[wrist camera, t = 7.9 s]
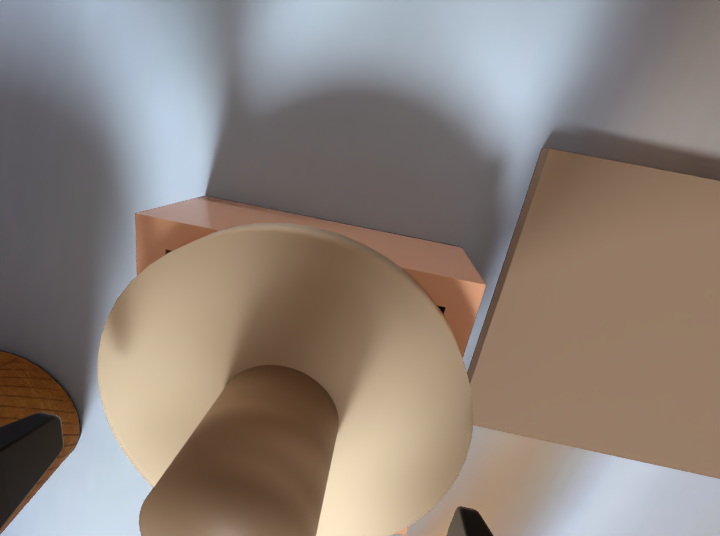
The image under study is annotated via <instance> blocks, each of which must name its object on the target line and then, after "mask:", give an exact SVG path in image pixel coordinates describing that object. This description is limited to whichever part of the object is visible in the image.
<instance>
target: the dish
mask: <svg viewBox="0 0 720 536" xmlns="http://www.w3.org/2000/svg"><path fill="white" fill-rule="evenodd" d="M256 223H291V224H298V225H305V226H312V227H316V228H320V229H324V230H328V231H331V232H335V233H339V234H341V235H344V236H346V237H348V238H351V239H353V240H356V241H358V242H361V243H363V244H365V245H367V246H368V247H370V248H372V249H374V250H375V251H377V252H379V253H381V254H382V255H384V256H386V257H387V258H389V259H390V260H391V261H393V262H394V263H395V264H397V265H398V266H399V267H401V268H402V269H403V270H405V271H406V272H407V273H408V274H409V275H410V276H411V277H413V278H414V279H415V280H416V281H417V282H418V283H419V284H420V285H421V286H422V287H423V288H424V289H425V290H426V292H427V293H428V294H429V295H430V297H431V298H432V299H433V301H434V302H435V303H436V304H437V306H438V307H439V308H440V310H441V311H442V313H443V315H444V317H445V318H446V320H447V322H448V324H449V325H450V327H451V329H452V331H453V334H454V336H455V339H456V341H457V344H458V346H459V349H460V352H461V355H462V358H463V356H464V352H465V349H466V346H467V343H468V340H469V337H470V334H471V331H472V328H473V325H474V321H475V318H476V315H477V312H478V309H479V306H480V303H481V300H482V297H483V293H484V290H485V287H486V284H485V282H484V281H483V279H482V278H481V276H480V274H479V273H478V271H477V270H476V268H475V267H474V265H473V264H472V262H471V261H470V259H469V257H468V256H467V254H466V253H465V251H464V250H463V248H462V247H457V246H452V245H447V244H442V243H437V242H432V241H427V240H422V239H417V238H412V237H407V236H402V235H397V234H392V233H387V232H382V231H377V230H372V229H367V228H362V227H357V226H352V225H347V224H342V223H338V222H333V221H328V220H323V219H318V218H313V217H308V216H303V215H298V214H293V213H288V212H283V211H278V210H273V209H268V208H263V207H258V206H253V205H248V204H243V203H238V202H233V201H228V200H223V199H218V198H213V197H208V196H201V197H197V198H194V199H190V200H186V201H182V202H178V203H174V204H170V205H166V206H162V207H158V208H154V209H150V210H146V211H142V212H138V213H135V224H136V263H137V276H138V275H139V274H140V273H141V272H142V271H143V270H144V269H146V268H147V267H148V266H149V265H150V264H152V263H154V262H155V261H157V260H158V259H160V258H161V257H163V256H164V255H166V254H168V253H169V252H171V251H173V250H176V249H178V248H180V247H182V246H184V245H186V244H189V243H191V242H193V241H195V240H197V239H200V238H202V237H204V236H206V235H209V234H211V233H213V232H217V231H220V230H224V229H228V228H231V227H235V226H241V225H249V224H256ZM408 527H409V526H408ZM408 527H406V528H405V529H403V530H401V531H399V532H397V534H401V535H405V536H406V533H407V530H408Z"/></svg>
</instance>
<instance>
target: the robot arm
mask: <svg viewBox="0 0 720 536" xmlns="http://www.w3.org/2000/svg"><path fill="white" fill-rule="evenodd" d="M63 445H64V440H63V432H62V423H61V419H60V417H59V416H57V415H53V414H49V413H44V412H39V413H35V414H33V415H30V416H27V417H25V418H22V419H20V420H17V421H15V422H12V423H9V424H7V425H4V426H2V427H0V529H1V528H2V526H3V525H4V524H5V523H6V522H7V520H8V519H9V518H10V517H11V516H12V514H13V513H14V512H15V511H16V509H17V508H18V507H19V505H20V504H21V503H22V502H23V500H24V499H25V498H26V497H27V495H28V494H29V493H30V491H31V490H32V489H33V488H34V486H35V485H36V484H37V483H38V481H39V480H40V479H41V477H42V476H43V475H44V474H45V472H46V471H47V470H48V469H49V467H50V466H51V465H52V463H53V462H54V461H55V460H56V458H57V457H58V456H59V454H60V452H61V451H62V448H63ZM447 536H493V534H492V533H491V531H490V529H489V528H488V526H487V525H486V523H485V521H484V520H483V518H482V517H481V515H480V514H479V512H478V511H476V510H474V509H471V508H466V507H462V506H459V507H458V508H457V509H456V511H455V513H454V516H453V519H452V521H451V524H450V527H449V529H448V533H447Z"/></svg>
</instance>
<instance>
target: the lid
mask: <svg viewBox="0 0 720 536" xmlns="http://www.w3.org/2000/svg"><path fill="white" fill-rule="evenodd" d="M98 383H99V390H100V397H101V401H102V404H103V408H104V411H105V415H106V418H107V420H108V422H109V425H110V427H111V429H112V431H113V434H114V436H115V438H116V439H117V441H118V443H119V445H120V446H121V448H122V450H123V451H124V453H125V454H126V456H127V457H128V459H129V460H130V461H131V463H132V464H133V465H134V467H135V468H136V469H137V470H138V472H139V473H140V474H141V475H142V476H143V477H144V478H145V479H146V480H147V481H148V482H149V484H150V485H151V486H152V487H154V488H153V489H152V491H151V492H150V493H149V495H148V496H147V498H146V499H145V501H144V503H143V505H142V507H141V511H140V515H139V526H140V532H141V536H390V535H393V534H395V533H397V532H399V531H401V530H403V529H405V528H406V527H408V526H409V525H411V524H413V523H414V522H416V521H418V520H419V519H420V518H421V517H423V516H424V515H425V514H426V513H427V512H429V511H430V510H431V509H432V508H433V507H434V506H435V505H436V504H437V503H438V502H439V501H440V500H441V499H442V498H443V497H444V496H445V494H446V493H447V492H448V490H449V489H450V487H451V486H452V484H453V483H454V481H455V480H456V478H457V477H458V475H459V473H460V470H461V468H462V466H463V464H464V462H465V460H466V457H467V453H468V449H469V446H470V442H471V438H472V428H473V419H474V417H473V400H472V392H471V388H470V383H469V379H468V374H467V371H466V368H465V364H464V361H463V358H462V355H461V352H460V349H459V346H458V344H457V341H456V339H455V336H454V334H453V331H452V329H451V327H450V325H449V324H448V322H447V320H446V318H445V317H444V315H443V313H442V311H441V310H440V308H439V307H438V306H437V304H436V303H435V302H434V301H433V299H432V298H431V297H430V295H429V294H428V293H427V292H426V290H425V289H424V288H423V287H422V286H421V285H420V284H419V283H418V282H417V281H416V280H415V279H414V278H413V277H411V276H410V275H409V274H408V273H407V272H406V271H405V270H403V269H402V268H401V267H399V266H398V265H397V264H395V263H394V262H393V261H391V260H390V259H389V258H387V257H386V256H384V255H382V254H381V253H379V252H377V251H375V250H374V249H372V248H370V247H368V246H367V245H365V244H363V243H361V242H358V241H356V240H353V239H351V238H348V237H346V236H344V235H341V234H339V233H335V232H331V231H328V230H324V229H320V228H316V227H312V226H305V225H298V224H291V223H256V224H249V225H241V226H235V227H231V228H228V229H224V230H220V231H217V232H213V233H211V234H209V235H206V236H204V237H202V238H200V239H197V240H195V241H193V242H191V243H189V244H186V245H184V246H182V247H180V248H178V249H176V250H173V251H171V252H169V253H168V254H166V255H164V256H163V257H161V258H160V259H158V260H157V261H155V262H154V263H152V264H150V265H149V266H148V267H147V268H146V269H144V270H143V271H142V272H141V273H140V274H139V275H138V276H137V277H136V278H134V279H133V280H132V281H131V282H130V284H129V285H128V286H127V288H126V289H125V290H124V291H123V293H122V294H121V295H120V296H119V298H118V299H117V301H116V303H115V305H114V307H113V308H112V310H111V312H110V314H109V316H108V318H107V321H106V324H105V327H104V330H103V333H102V336H101V340H100V346H99V352H98Z"/></svg>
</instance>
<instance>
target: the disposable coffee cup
mask: <svg viewBox="0 0 720 536" xmlns="http://www.w3.org/2000/svg"><path fill="white" fill-rule="evenodd" d="M39 412H44V413H49V414H53V415H57V416H59V417H60V419H61V423H62V432H63V440H64V445H63V448H62V451H61V452H60V454H59V456H58V457H57V458H56V460H55V461H54V462H53V463H52V465H51V466H50V467H49V469H48V470H47V471H46V472H45V474H44V475H43V476H42V477H41V479H40V480H39V481H38V483H37V484H36V485H35V486H34V488H33V489H32V490H31V491H30V493H29V494H28V495H27V497H26V498H25V499H24V500H23V502H22V503H21V504H20V505H19V507H18V508H17V509H16V511H15V512H14V513H13V514H12V516H11V517H10V518H9V519H8V520H7V522H6V523H5V524H4V525H3V526H2V528H1V529H0V534H1V533H2V532H3V531H4V530H5V528H6V527H7V526H8V525H9V524H10V522H11V521H12V520H13V519H14V518H15V517H16V516H17V515H18V513H19V512H20V511H21V510H22V509H23V507H24V506H25V505H26V504H27V503H28V502H29V501H30V499H31V498H32V497H33V496H34V495H35V494H36V492H37V491H38V490H39V489H40V488H41V487H42V485H43V484H44V483H45V482H46V481H47V480H48V478H49V477H50V476H51V475H52V474H53V473H54V471H55V470H56V469H57V468H58V467H59V466H60V464H61V463H62V462H63V461H64V460H65V459H66V458H67V456H68V455H69V454H70V453H71V452H72V451H73V450H74V449H75V446H76V444H77V442H78V439H79V434H80V426H79V419H78V415H77V412H76V409H75V407H74V405H73V403H72V401H71V399H70V398H69V396H68V395H67V394H66V392H65V391H64V390H63V388H62V387H61V386H60V385H59V384H58V383H57V382H56V381H55V380H54V379H53V378H52V377H51V376H50V375H49V374H48V373H46V372H45V371H44V370H42V369H41V368H40V367H38V366H36V365H35V364H33V363H31V362H29V361H28V360H26V359H24V358H21V357H18V356H16V355H13V354H10V353H6V352H2V351H0V427H2V426H4V425H7V424H9V423H12V422H15V421H17V420H20V419H22V418H25V417H27V416H30V415H33V414H35V413H39Z"/></svg>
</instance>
